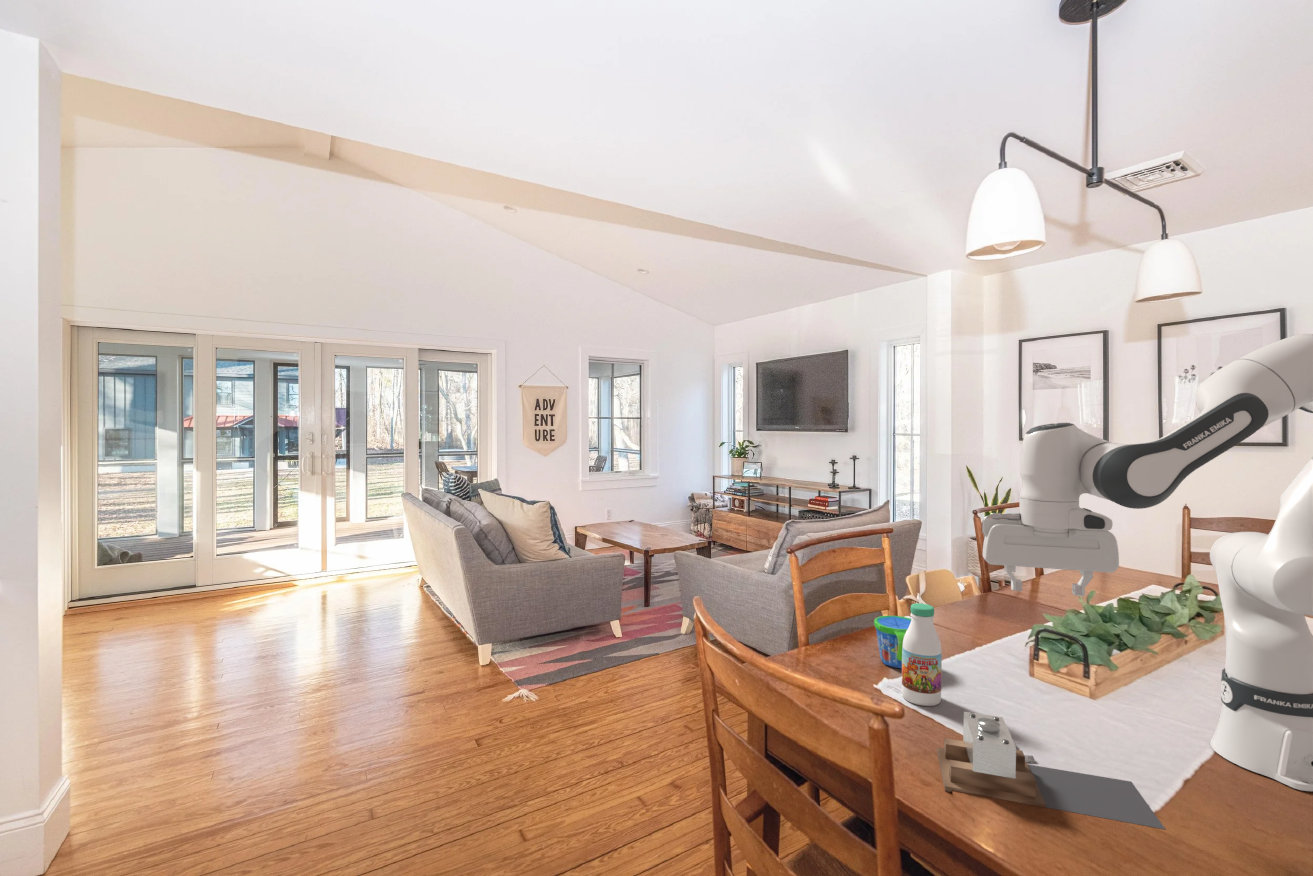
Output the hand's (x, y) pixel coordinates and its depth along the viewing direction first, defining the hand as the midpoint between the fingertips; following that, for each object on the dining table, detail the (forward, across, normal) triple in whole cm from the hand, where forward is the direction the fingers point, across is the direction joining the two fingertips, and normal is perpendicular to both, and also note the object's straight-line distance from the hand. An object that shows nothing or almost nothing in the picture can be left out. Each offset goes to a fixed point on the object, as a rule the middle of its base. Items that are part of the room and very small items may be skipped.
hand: (1046, 592), depth 107 cm
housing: (+26, -11, -12) cm, 30 cm away
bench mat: (+29, +3, -12) cm, 31 cm away
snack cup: (+29, -23, +33) cm, 50 cm away
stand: (+29, -11, -12) cm, 33 cm away
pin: (+29, -5, -4) cm, 30 cm away
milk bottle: (+29, -19, +15) cm, 38 cm away
